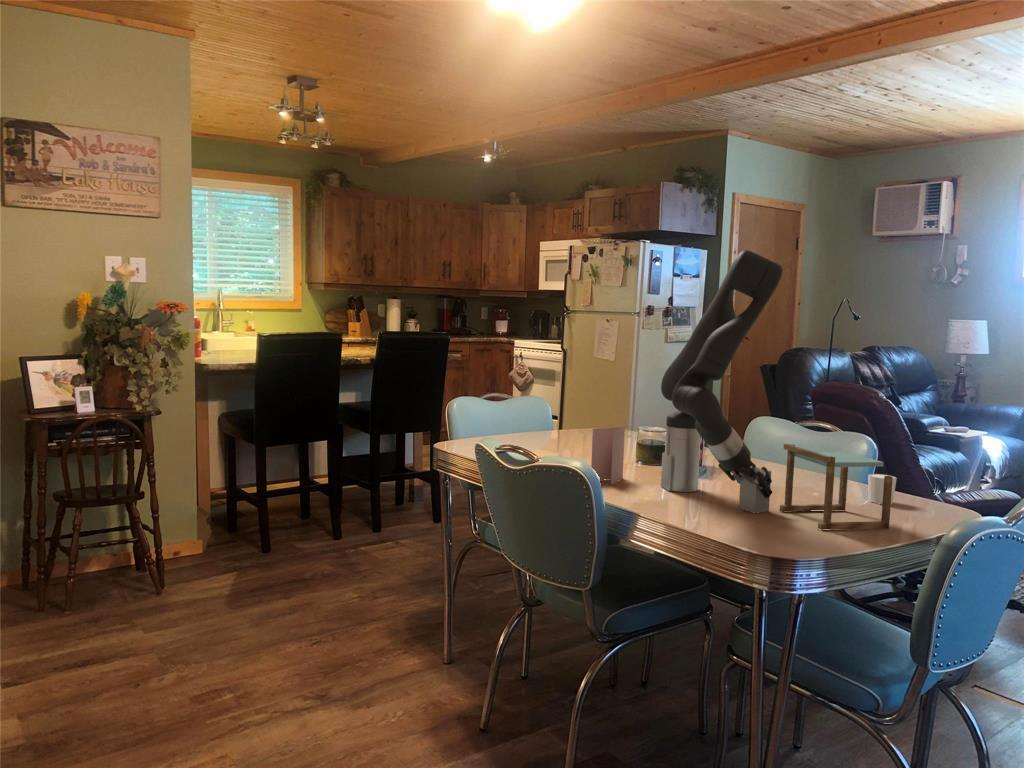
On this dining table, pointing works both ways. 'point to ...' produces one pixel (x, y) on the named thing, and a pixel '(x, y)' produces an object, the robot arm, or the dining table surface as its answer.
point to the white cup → (878, 487)
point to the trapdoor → (845, 460)
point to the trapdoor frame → (829, 493)
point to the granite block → (752, 497)
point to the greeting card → (608, 453)
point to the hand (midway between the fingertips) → (759, 492)
